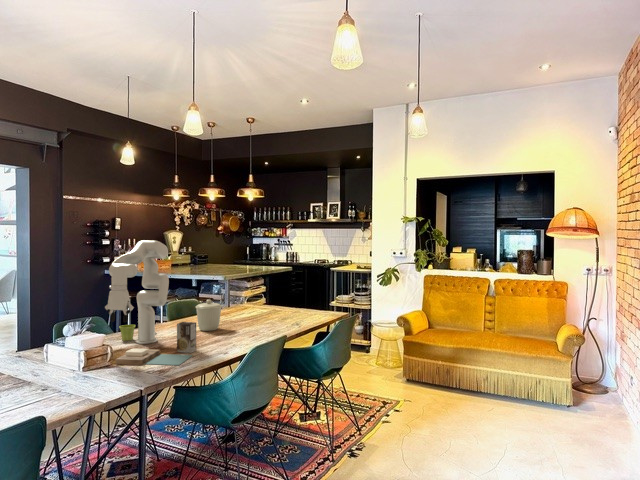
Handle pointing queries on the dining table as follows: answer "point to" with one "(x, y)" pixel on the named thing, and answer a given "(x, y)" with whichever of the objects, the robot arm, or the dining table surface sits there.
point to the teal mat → (169, 359)
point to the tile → (136, 352)
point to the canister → (208, 315)
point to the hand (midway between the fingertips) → (119, 321)
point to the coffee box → (186, 337)
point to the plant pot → (127, 332)
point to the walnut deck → (138, 358)
